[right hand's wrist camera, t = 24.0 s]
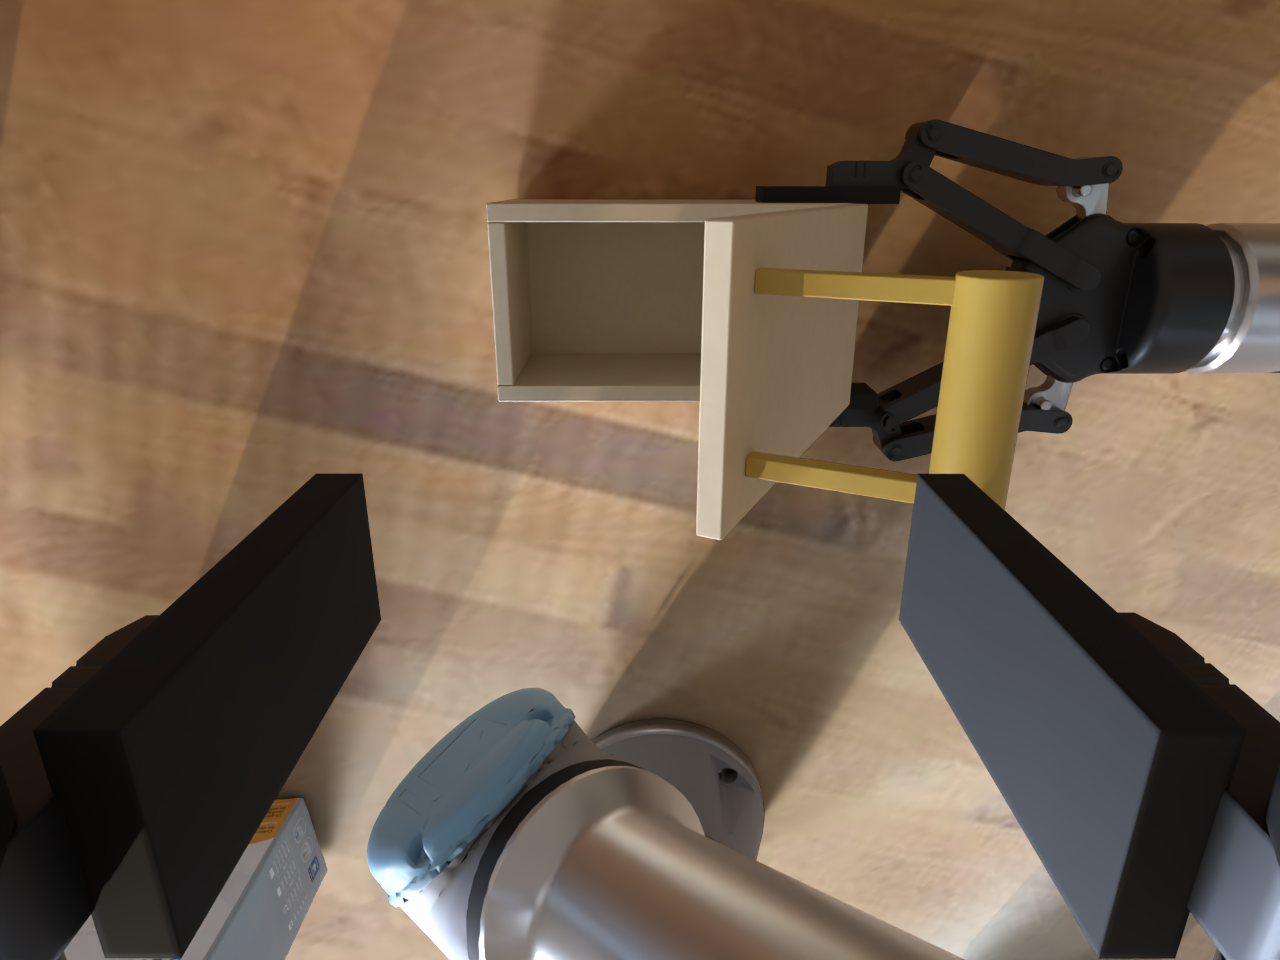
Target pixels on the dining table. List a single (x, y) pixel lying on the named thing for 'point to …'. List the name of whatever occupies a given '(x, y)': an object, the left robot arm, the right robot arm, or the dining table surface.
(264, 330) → the dining table surface
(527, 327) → the chest
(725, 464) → the lid
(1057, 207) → the dining table surface
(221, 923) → the hard drive box
